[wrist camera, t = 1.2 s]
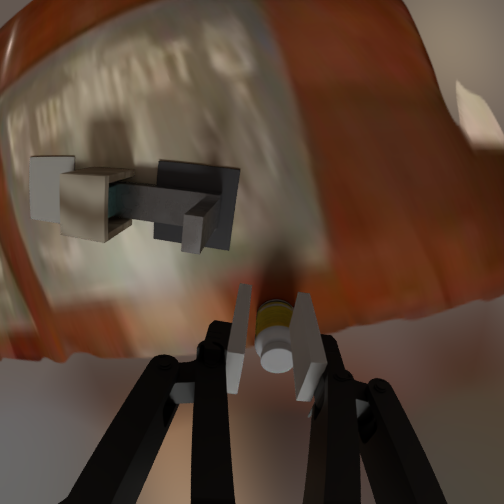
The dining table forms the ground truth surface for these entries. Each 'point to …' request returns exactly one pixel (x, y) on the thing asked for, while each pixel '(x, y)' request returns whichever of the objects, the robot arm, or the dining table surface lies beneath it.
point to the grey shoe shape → (207, 181)
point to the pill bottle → (274, 336)
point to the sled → (168, 209)
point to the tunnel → (90, 203)
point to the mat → (47, 186)
